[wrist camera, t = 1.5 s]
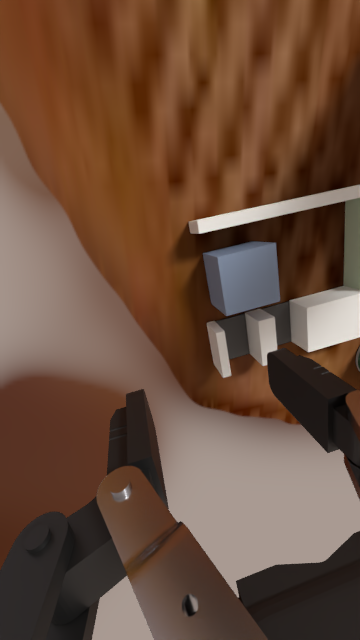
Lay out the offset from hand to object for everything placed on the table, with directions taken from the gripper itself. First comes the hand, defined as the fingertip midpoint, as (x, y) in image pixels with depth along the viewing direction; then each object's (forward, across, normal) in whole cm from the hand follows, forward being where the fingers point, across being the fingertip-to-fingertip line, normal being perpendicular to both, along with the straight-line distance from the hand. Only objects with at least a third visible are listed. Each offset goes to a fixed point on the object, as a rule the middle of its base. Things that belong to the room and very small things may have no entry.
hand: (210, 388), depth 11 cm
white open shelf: (+19, -15, +2) cm, 25 cm away
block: (+20, -9, 0) cm, 22 cm away
